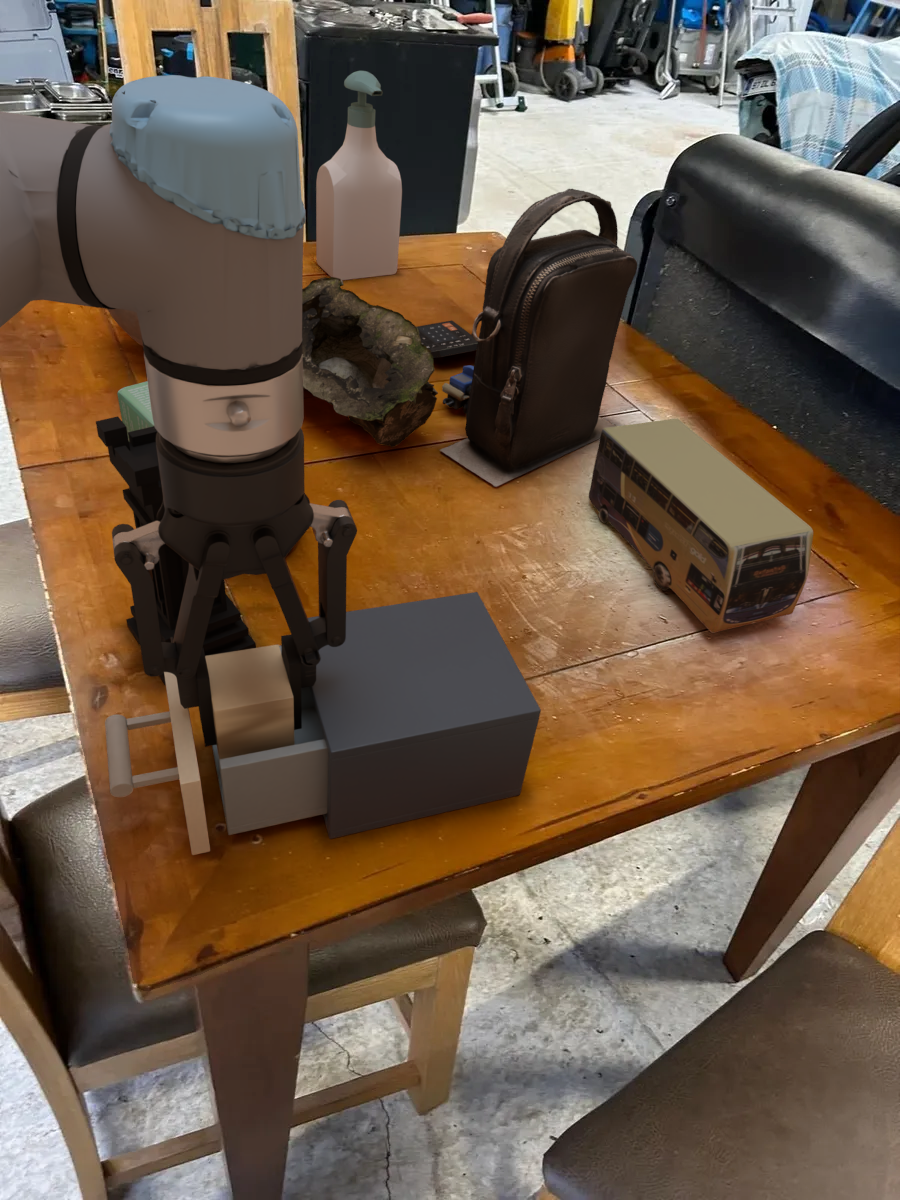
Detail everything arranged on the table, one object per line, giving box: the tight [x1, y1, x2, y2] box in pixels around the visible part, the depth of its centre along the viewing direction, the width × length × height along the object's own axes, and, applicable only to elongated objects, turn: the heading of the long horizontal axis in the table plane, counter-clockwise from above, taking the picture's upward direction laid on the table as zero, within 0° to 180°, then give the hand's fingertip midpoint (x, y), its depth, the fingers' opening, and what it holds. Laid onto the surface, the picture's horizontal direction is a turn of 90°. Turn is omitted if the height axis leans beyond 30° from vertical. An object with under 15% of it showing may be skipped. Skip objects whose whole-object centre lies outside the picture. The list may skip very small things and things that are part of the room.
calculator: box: [416, 319, 478, 359], centre depth 121 cm, size 9×12×3 cm
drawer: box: [104, 644, 328, 856], centre depth 62 cm, size 18×11×8 cm, turn 109°
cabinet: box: [307, 591, 542, 840], centre depth 65 cm, size 15×13×10 cm
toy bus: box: [588, 418, 814, 634], centre depth 87 cm, size 10×23×10 cm, turn 22°
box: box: [116, 381, 154, 440], centre depth 92 cm, size 7×14×8 cm, turn 40°
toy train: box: [441, 364, 474, 415], centre depth 113 cm, size 4×22×5 cm, turn 136°
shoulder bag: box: [439, 188, 638, 488], centre depth 96 cm, size 23×9×28 cm, turn 134°
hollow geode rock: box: [302, 276, 439, 448], centre depth 103 cm, size 28×13×15 cm
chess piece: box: [95, 416, 257, 686], centre depth 69 cm, size 8×8×20 cm
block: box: [205, 644, 295, 760], centre depth 59 cm, size 5×5×5 cm
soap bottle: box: [315, 70, 403, 281], centre depth 130 cm, size 11×8×27 cm
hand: (250, 722), depth 61 cm, fingers closed on block, 5 cm apart
